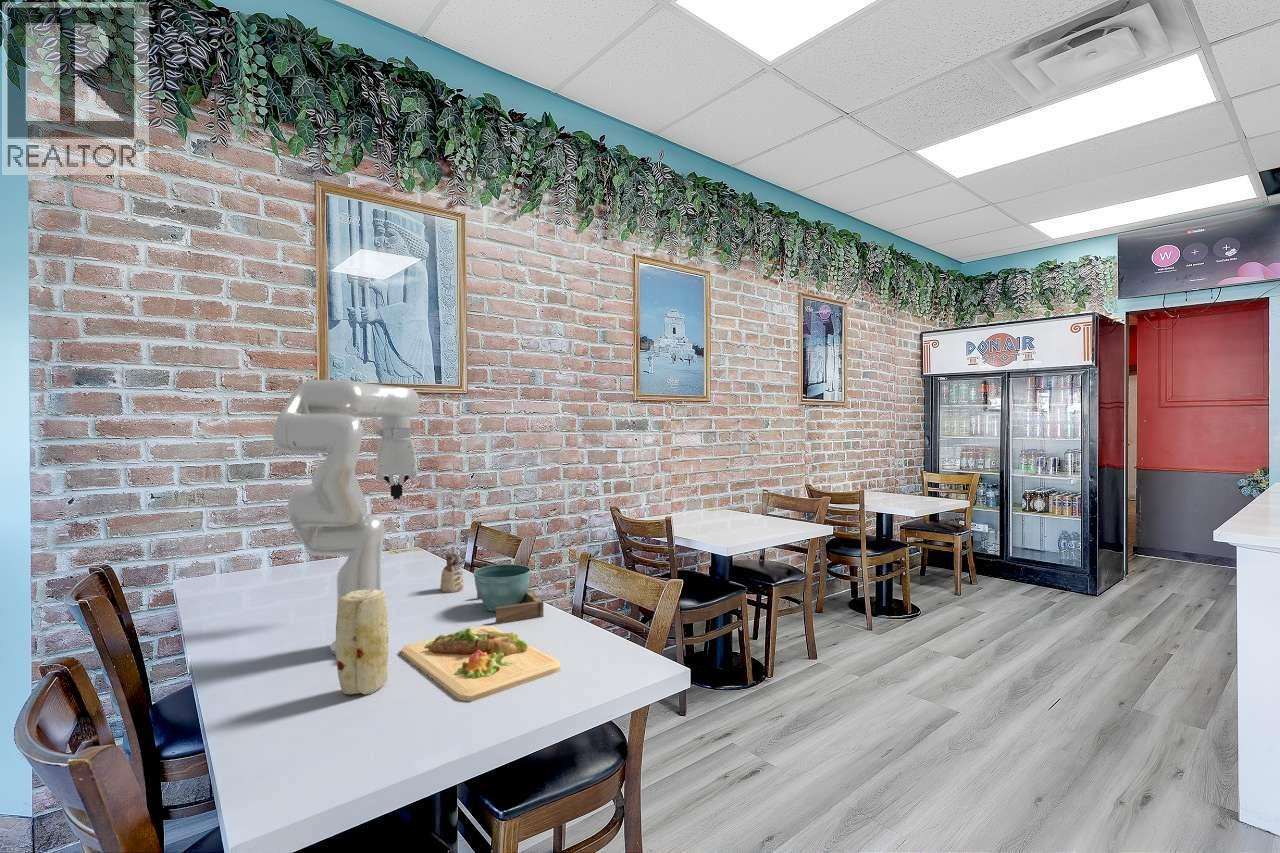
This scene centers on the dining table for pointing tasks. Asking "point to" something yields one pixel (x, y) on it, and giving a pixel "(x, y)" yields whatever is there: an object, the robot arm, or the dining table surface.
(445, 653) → the cutting board
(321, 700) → the dining table surface
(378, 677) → the food model
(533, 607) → the walnut bay
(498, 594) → the flower pot
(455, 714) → the dining table surface
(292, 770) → the dining table surface
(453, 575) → the figurine
